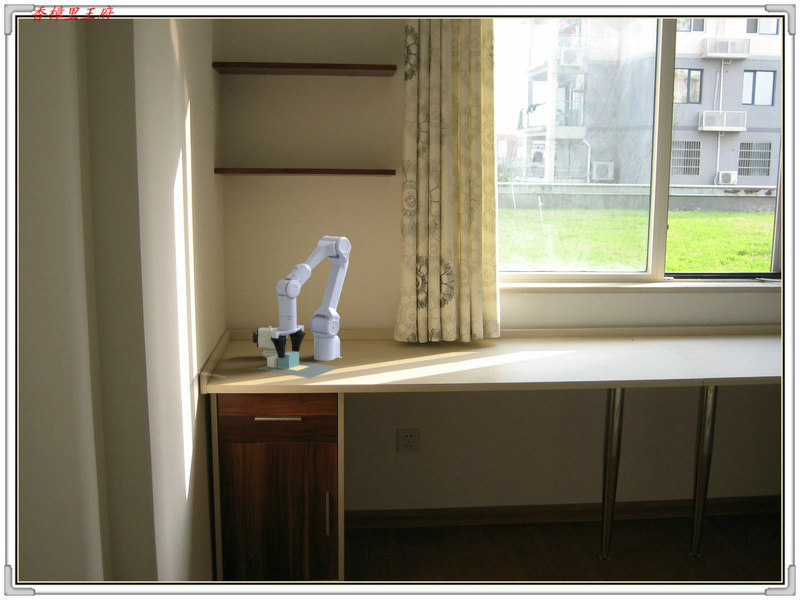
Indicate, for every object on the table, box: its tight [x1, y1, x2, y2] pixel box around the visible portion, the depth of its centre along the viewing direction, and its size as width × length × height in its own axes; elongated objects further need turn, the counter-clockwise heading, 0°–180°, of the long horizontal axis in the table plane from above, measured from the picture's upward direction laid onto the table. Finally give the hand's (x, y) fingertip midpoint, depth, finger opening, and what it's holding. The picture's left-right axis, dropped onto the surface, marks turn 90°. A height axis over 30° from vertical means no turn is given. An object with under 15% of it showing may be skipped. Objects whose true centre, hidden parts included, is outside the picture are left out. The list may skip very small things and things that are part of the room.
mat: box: [257, 360, 340, 379], centre depth 232 cm, size 16×22×1 cm
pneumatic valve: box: [252, 325, 289, 359], centre depth 246 cm, size 6×12×12 cm, turn 93°
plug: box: [278, 350, 300, 369], centre depth 233 cm, size 5×5×5 cm
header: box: [266, 355, 278, 368], centre depth 235 cm, size 8×6×3 cm
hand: (288, 355), depth 233 cm, fingers open, 7 cm apart
